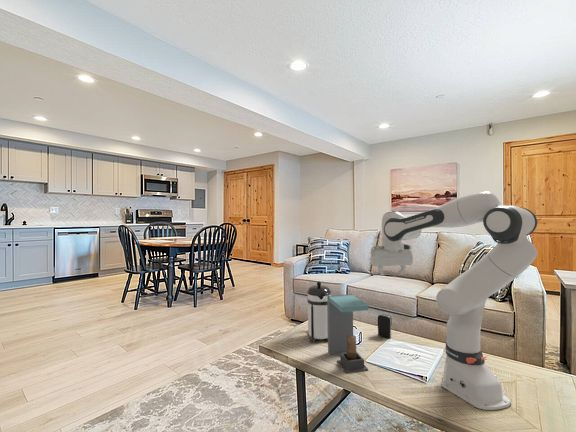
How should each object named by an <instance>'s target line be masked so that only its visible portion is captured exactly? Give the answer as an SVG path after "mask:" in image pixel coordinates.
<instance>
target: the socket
mask: <svg viewBox="0 0 576 432" xmlns="http://www.w3.org/2000/svg"><path fill="white" fill-rule="evenodd" d="M339 354H340V359H337V360H336V363H337V364H338V365H339V366H340V368H341V369H342V370H343V372H344V373H345V374H350V373H351V374H352V373H361V372H368V371H369V368H368V367H367V366H366V365H365V359H364V358H363V357H362V356H361V355H360V353H359V352H357V360H349V361H348V360H347V353H339Z"/></svg>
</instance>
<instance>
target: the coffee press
mask: <svg viewBox="0 0 576 432" xmlns="http://www.w3.org/2000/svg"><path fill="white" fill-rule="evenodd" d="M306 294H307V328H308V329H307V331H308V332H307V335H308V336H309V337H310V339H309V341H310V342H311V343H314V342H315V340H325V339H326V340H327V341H328V305H327V296H332V290H331V289H330V287H328V286H327V285H322V282H321V281H317V283H316V285H312V286H309V288H308V289H307V291H306Z"/></svg>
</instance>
